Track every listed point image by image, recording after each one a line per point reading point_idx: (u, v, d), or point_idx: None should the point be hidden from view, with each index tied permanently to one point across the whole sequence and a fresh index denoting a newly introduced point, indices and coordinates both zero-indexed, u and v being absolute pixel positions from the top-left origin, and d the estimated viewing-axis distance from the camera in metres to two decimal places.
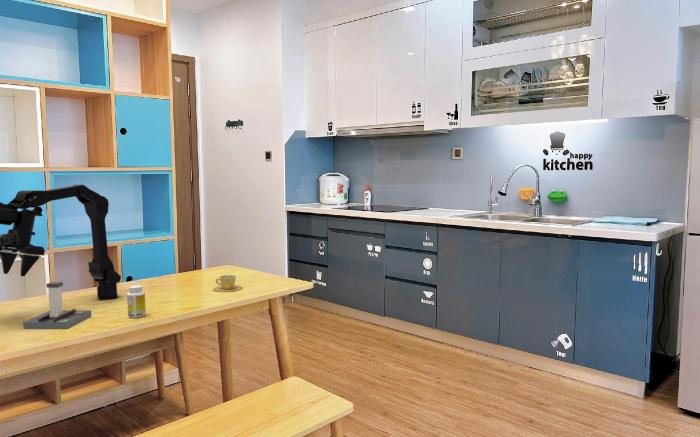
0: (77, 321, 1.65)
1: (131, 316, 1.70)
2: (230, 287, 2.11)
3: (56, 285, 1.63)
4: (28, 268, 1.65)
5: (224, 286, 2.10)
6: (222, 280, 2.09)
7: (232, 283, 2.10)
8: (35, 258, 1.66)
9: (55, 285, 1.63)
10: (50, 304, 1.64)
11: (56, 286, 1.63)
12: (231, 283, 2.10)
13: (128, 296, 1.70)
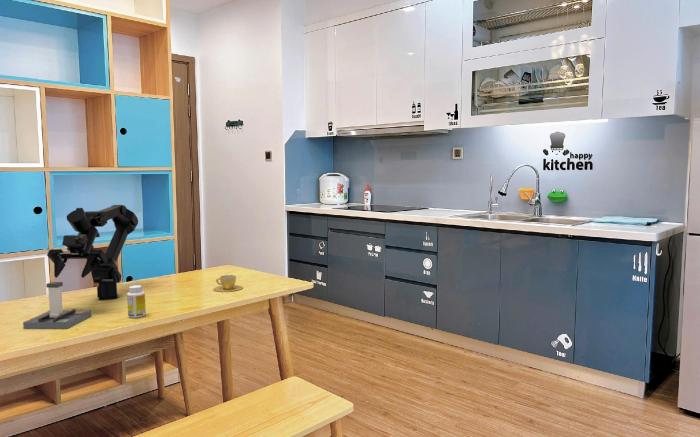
0: (77, 321, 1.65)
1: (131, 316, 1.70)
2: (230, 287, 2.11)
3: (56, 285, 1.63)
4: (88, 271, 1.74)
5: (224, 286, 2.10)
6: (222, 280, 2.09)
7: (232, 283, 2.10)
8: (96, 265, 1.77)
9: (55, 285, 1.63)
10: (50, 304, 1.64)
11: (56, 286, 1.63)
12: (231, 283, 2.10)
13: (128, 296, 1.70)
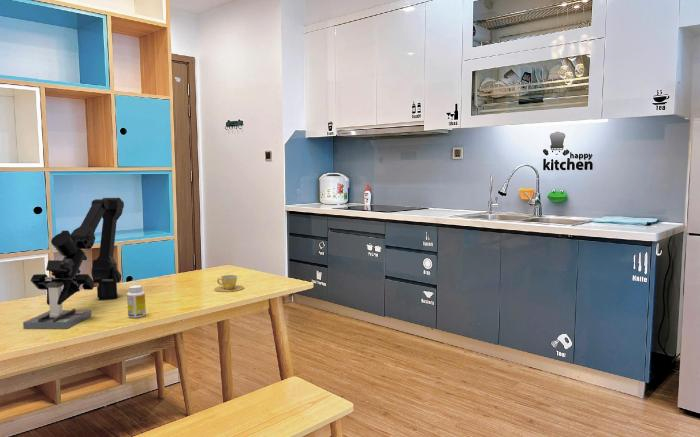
0: (77, 321, 1.65)
1: (131, 316, 1.70)
2: (231, 287, 2.11)
3: (56, 285, 1.63)
4: (65, 298, 1.66)
5: (225, 286, 2.10)
6: (223, 280, 2.09)
7: (233, 283, 2.10)
8: (73, 291, 1.69)
9: (55, 285, 1.63)
10: (50, 304, 1.64)
11: (56, 286, 1.63)
12: (232, 283, 2.10)
13: (128, 296, 1.70)
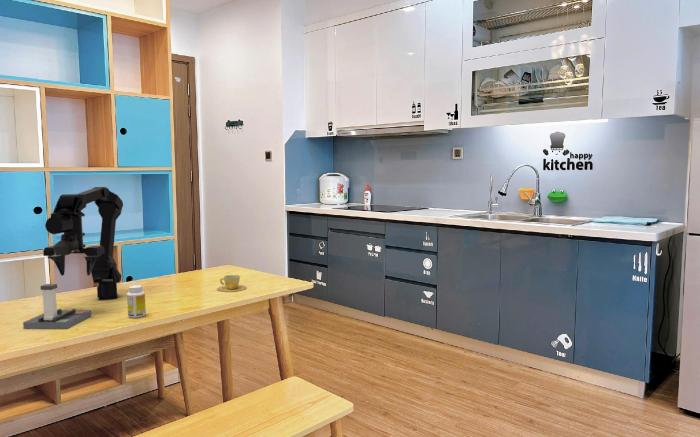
0: (77, 321, 1.65)
1: (131, 316, 1.70)
2: (234, 287, 2.11)
3: (50, 287, 1.60)
4: (92, 267, 1.78)
5: (228, 286, 2.10)
6: (226, 280, 2.09)
7: (236, 283, 2.11)
8: (96, 257, 1.78)
9: (49, 287, 1.60)
10: (44, 306, 1.61)
11: (50, 288, 1.60)
12: (235, 283, 2.10)
13: (128, 296, 1.70)
